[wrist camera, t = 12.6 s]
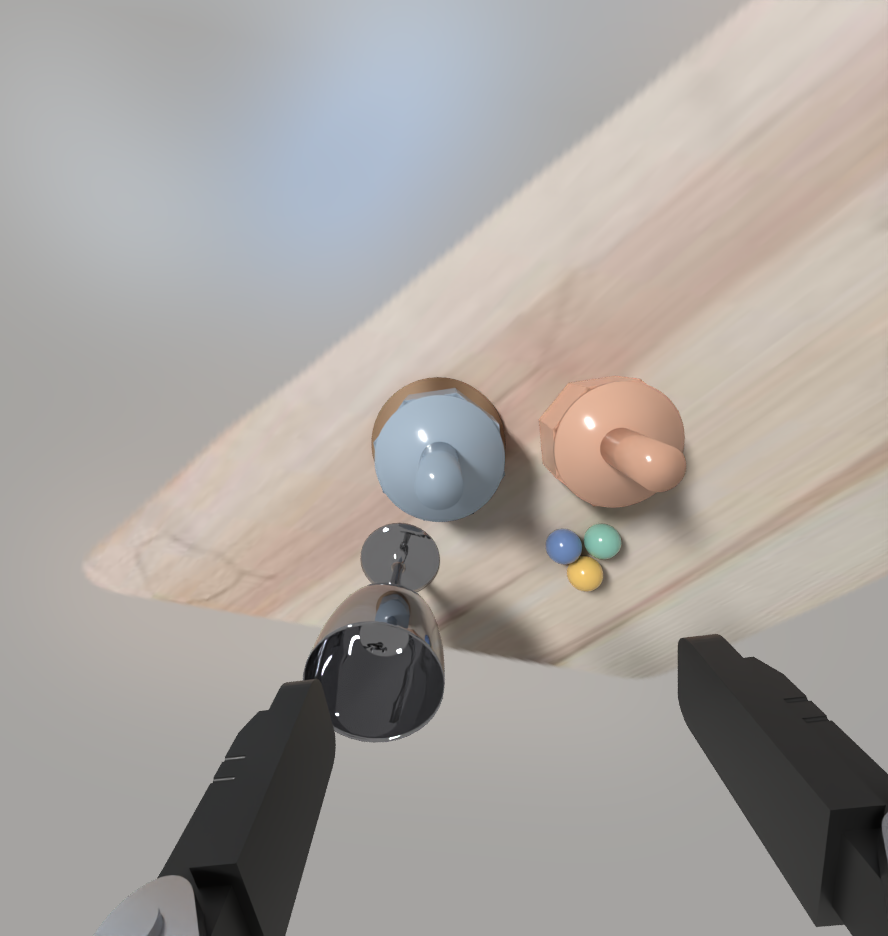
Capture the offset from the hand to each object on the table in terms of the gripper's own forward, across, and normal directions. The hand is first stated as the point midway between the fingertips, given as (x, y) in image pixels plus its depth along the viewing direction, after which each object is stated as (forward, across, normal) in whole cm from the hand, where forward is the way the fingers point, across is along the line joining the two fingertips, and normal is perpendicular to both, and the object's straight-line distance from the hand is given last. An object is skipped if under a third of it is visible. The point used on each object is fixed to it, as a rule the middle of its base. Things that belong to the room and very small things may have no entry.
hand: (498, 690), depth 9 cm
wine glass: (+27, +7, +10) cm, 29 cm away
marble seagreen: (+27, -11, +10) cm, 31 cm away
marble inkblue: (+27, -7, +10) cm, 29 cm away
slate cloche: (+26, +2, 0) cm, 26 cm away
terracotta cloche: (+27, -11, +1) cm, 29 cm away
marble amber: (+27, -9, +13) cm, 31 cm away
